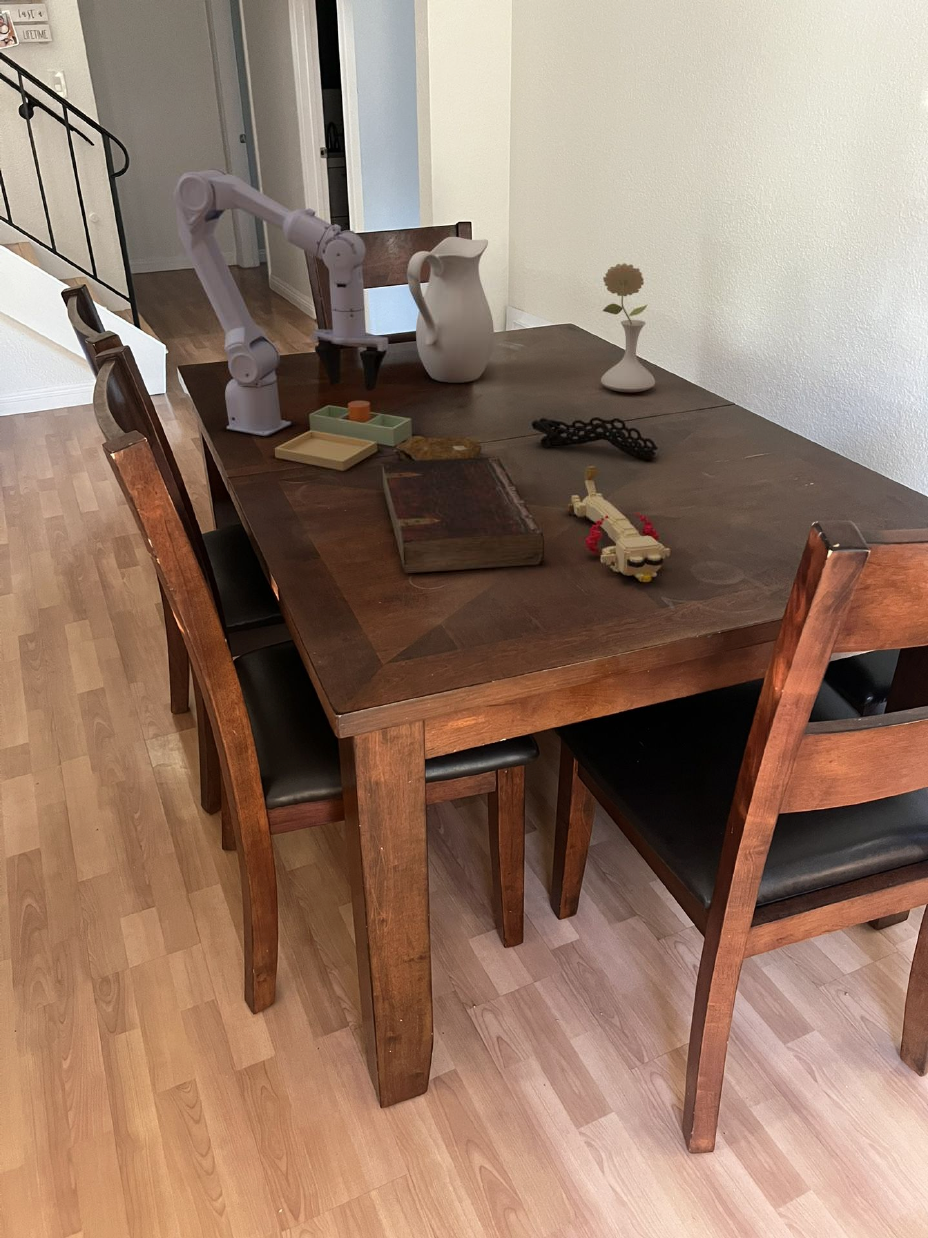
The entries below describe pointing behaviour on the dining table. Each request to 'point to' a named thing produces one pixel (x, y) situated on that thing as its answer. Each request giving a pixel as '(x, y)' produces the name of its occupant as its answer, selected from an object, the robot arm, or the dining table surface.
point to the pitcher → (452, 311)
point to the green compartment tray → (361, 426)
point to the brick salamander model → (619, 535)
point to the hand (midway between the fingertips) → (352, 386)
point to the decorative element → (558, 440)
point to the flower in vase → (627, 333)
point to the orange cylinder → (359, 411)
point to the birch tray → (326, 450)
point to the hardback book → (459, 515)
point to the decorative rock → (437, 448)
